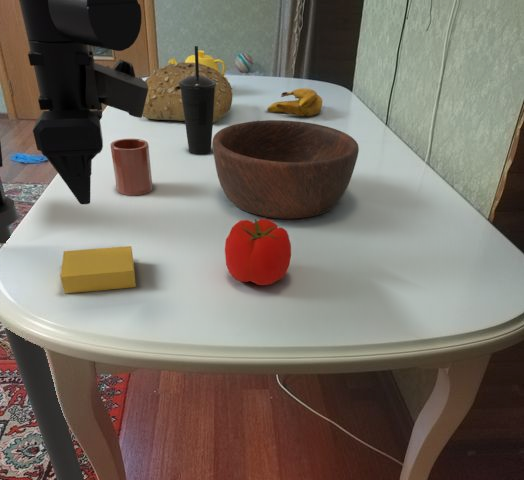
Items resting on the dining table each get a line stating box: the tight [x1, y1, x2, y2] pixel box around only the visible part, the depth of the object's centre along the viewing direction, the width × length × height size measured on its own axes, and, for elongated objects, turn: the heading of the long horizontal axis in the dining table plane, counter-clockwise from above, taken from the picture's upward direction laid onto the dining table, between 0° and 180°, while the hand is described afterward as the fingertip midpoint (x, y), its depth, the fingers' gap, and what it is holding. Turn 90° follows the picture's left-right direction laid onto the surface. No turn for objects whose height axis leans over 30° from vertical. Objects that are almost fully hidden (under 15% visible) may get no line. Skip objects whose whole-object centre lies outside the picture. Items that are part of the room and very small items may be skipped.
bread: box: [142, 61, 234, 123], centre depth 131 cm, size 24×21×12 cm
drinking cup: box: [179, 45, 216, 156], centre depth 105 cm, size 8×8×20 cm
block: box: [60, 245, 137, 294], centre depth 68 cm, size 9×7×2 cm
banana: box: [267, 87, 323, 117], centre depth 139 cm, size 15×19×6 cm
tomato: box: [224, 218, 292, 286], centre depth 68 cm, size 9×9×8 cm
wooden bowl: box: [211, 119, 360, 220], centre depth 89 cm, size 25×25×10 cm
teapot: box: [167, 50, 229, 82], centre depth 151 cm, size 14×14×11 cm
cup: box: [110, 138, 153, 196], centre depth 91 cm, size 6×6×8 cm
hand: (86, 188), depth 61 cm, fingers open, 9 cm apart
